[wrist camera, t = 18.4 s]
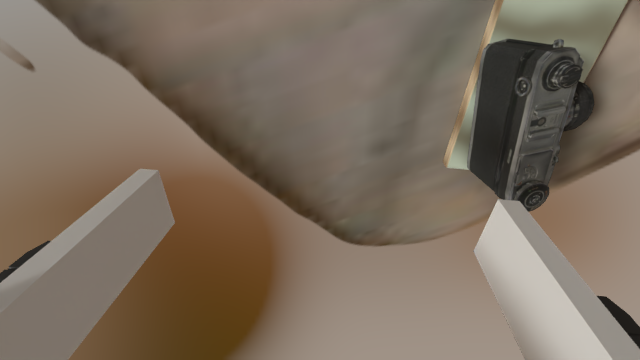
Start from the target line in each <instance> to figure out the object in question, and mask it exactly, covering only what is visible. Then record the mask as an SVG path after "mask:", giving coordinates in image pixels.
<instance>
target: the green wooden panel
mask: <svg viewBox="0 0 640 360" xmlns="http://www.w3.org/2000/svg"><path fill="white" fill-rule="evenodd" d="M627 2H628V0H495V3H494V6H493V9H492V12H491V15H490V18H489V21H488V24H487V27H486V30H485V33H484V36H483V40H482V43H481V46H480V49H479V52H478V55H477V58H476V61H475V64H474V67H473V70H472V73H471V76H470V80H469V83H468V86H467V89H466V92H465V95H464V98H463V101H462V104H461V107H460V110H459V113H458V116H457V120H456V123H455V126H454V129H453V132H452V135H451V138H450V141H449V144H448V147H447V150H446V153H445V156H444V160H443V163H444V165H445V167H447V168H456V169H468V168H467V159H468V151H469V144H470V137H471V129H472V121H473V113H474V105H475V97H476V89H477V82H478V74H479V67H480V60H481V56H482V52H483V49H484V48H485V47H486V46H487V45H488V44H490V43H494V42H498V41H501V40H505V39H516V40H523V41H531V42H538V43H544V44H553V43H554V41H555V40H557V39H562V40H564V46H563V47H573V48H576V49H577V51H578V52H579V53H580V57H581V58H582V59H583V60H584V63H583V66H582V69H583V71H582V74H581V78H580V80H579V81H580V82H582V83H584V82H585V80H586V78H587V76H588V74H589V72H590V71H591V69H592V67H593V65H594V63H595V61H596V59H597V58H598V56H599V54H600V52H601V50H602V48H603V46H604V45H605V43H606V41H607V39H608V37H609V35H610V33H611V32H612V30H613V28H614V26H615V24H616V22H617V21H618V19H619V17H620V15H621V13H622V11H623V9H624V8H625V6H626V4H627ZM468 170H469V169H468Z"/></svg>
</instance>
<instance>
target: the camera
mask: <svg viewBox="0 0 640 360" xmlns="http://www.w3.org/2000/svg"><path fill="white" fill-rule="evenodd" d="M563 46H564V40H562V39H557V40H555V41H554V43H553V44H544V43H538V42H531V41H523V40H516V39H505V40H501V41H498V42H494V43H490V44H488V45H487V46H486V47H485V48H484V49H483V52H482V56H481V60H480V67H479V74H478V82H477V89H476V97H475V105H474V113H473V121H472V129H471V137H470V144H469V151H468V159H467V168H468V169H469V170H470V171H471V172H472V173H474V174H475V175H476V176H477V177H478V178H479V179H481V180H482V181H483V182H484V183H485V184H486V185H487V186H489V187H490V188H491V189H492V190H493V191H494V192H495V194H496V195H497V196H498V197H499V198H501V199H503V200H512V201H520V202H521V204H522V205H523V206H524V207H525V209H526V210H527V211H528V212H529V211H532V210H535V209H536V208H538V207H539V206H541V205H542V204H543V203H544V202H545V201H546V199H547V197H548V195H549V187H548V183H549V180H550V178H551V175H552V172H553V169H554V166H555V163H556V162H558V154H559V150H560V145H559V142H560V138H561V135H562V132H563V131H567V130H572V129H575V128H577V127H578V126H580V125H581V124H582V123H583V122H585V121H586V120H587V119H588V118H589V116H590V115H591V113H592V110H593V106H594V99H593V94H592V92H591V90H590V88H589V87H588V86H587V85H586V84H585V83H582V82H580V81H579V80H580V78H581V74H582V71H583V69H582V66H583V63H584V60H583V59H582V58H581V57H580V53H579V52H578V51H577V49H576V48H573V47H563Z"/></svg>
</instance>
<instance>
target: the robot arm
mask: <svg viewBox="0 0 640 360" xmlns="http://www.w3.org/2000/svg"><path fill="white" fill-rule="evenodd" d="M174 223H175V222H174V219H173V215H172V212H171V209H170V206H169V203H168V200H167V196H166V193H165V190H164V187H163V184H162V181H161V177H160V174H159V171H158V170H148V169H139V170H138V171H137V172H135V173H134V174H133V175H132V176H130V177H129V178H128V179H127V180H126V181H124V182H123V183H122V184H121V185H119V186H118V187H117V188H116V189H115V190H113V191H112V192H111V193H110V194H108V195H107V196H106V197H105V198H104V199H102V200H101V201H100V202H99V203H98V204H96V205H95V206H94V207H93V208H92V209H90V210H89V211H88V212H86V213H85V214H84V215H83V216H82V217H80V218H79V219H78V220H77V221H76V222H74V223H73V224H72V225H71V226H69V227H68V228H67V229H66V230H65V231H63V232H62V233H61V234H60V235H58V236H57V237H56V238H55V239H54V240H52V241H47V242H45V243H43V244H41V245H40V246H38V247H36V248H34V249H32V250H30V251H28V252H27V253H25V254H24V255H23V256H22V257H21V258H19V259H18V260H17V261H15V262H14V263H13V264H12V265H10V266H9V269H8V270H4V271H3V272H1V273H0V360H68V359H69V357H70V356H71V355H72V354H73V352H74V351H75V350H76V349H77V347H78V346H79V345H80V344H81V342H82V341H83V340H84V338H85V337H86V336H87V335H88V333H89V332H90V331H91V329H92V328H93V327H94V326H95V324H96V323H97V322H98V320H99V319H100V318H101V317H102V315H103V314H104V313H105V312H106V310H107V309H108V308H109V306H110V305H111V304H112V302H113V301H114V300H115V299H116V297H117V296H118V295H119V294H120V292H121V291H122V290H123V289H124V287H125V286H126V285H127V283H128V282H129V281H130V279H131V278H132V277H133V276H134V274H135V273H136V272H137V271H138V269H139V268H140V266H141V265H142V264H143V263H144V262H145V260H146V259H147V258H148V256H149V255H150V254H151V253H152V251H153V250H154V249H155V247H156V246H157V245H158V244H159V242H160V241H161V240H162V238H163V237H164V236H165V235H166V233H167V232H168V231H169V229H170V228H171V227H172V226H173V224H174ZM474 253H475V255H476V258H477V260H478V262H479V264H480V266H481V268H482V270H483V272H484V274H485V277H486V279H487V281H488V283H489V285H490V287H491V289H492V291H493V293H494V296H495V298H496V300H497V302H498V304H499V306H500V308H501V310H502V312H503V315H504V317H505V319H506V321H507V323H508V325H509V327H510V329H511V331H512V333H513V335H514V338H515V340H516V342H517V344H518V346H519V348H520V350H521V353H522V354H523V357H524V359H525V360H640V327H639V326H638V325H637V324H636V323H635V321H634V320H633V319H632V318H631V317H630V315H628V314H627V313H626V312H625V311H624V310H622V309H621V308H620V307H619V306H617V305H616V304H615V303H613V302H612V301H611V300H610V299H608V298H607V297H604V296H596V295H595V293H594V292H593V291H592V290H591V289H590V287H589V286H588V285H587V284H586V282H585V281H584V280H583V279H582V278H581V276H580V275H579V274H578V273H577V271H576V270H575V269H574V268H573V267H572V265H571V264H570V263H569V261H568V260H567V259H566V258H565V257H564V255H563V254H562V253H561V252H560V250H559V249H558V248H557V247H556V245H555V244H554V243H553V242H552V241H551V240H550V238H549V237H548V236H547V235H546V233H545V232H544V231H543V229H542V228H541V227H540V226H539V225H538V223H537V222H536V221H535V220H534V218H533V217H532V216H531V215H530V214H529V212H528V211H527V210H526V209H525V207H524V206H523V205H522V204H521V202H520V201H512V200H500V199H498V201H497V203H496V205H495V207H494V209H493V211H492V213H491V215H490V218H489V220H488V222H487V224H486V226H485V228H484V230H483V232H482V235H481V237H480V239H479V241H478V243H477V245H476V247H475V249H474Z"/></svg>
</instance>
